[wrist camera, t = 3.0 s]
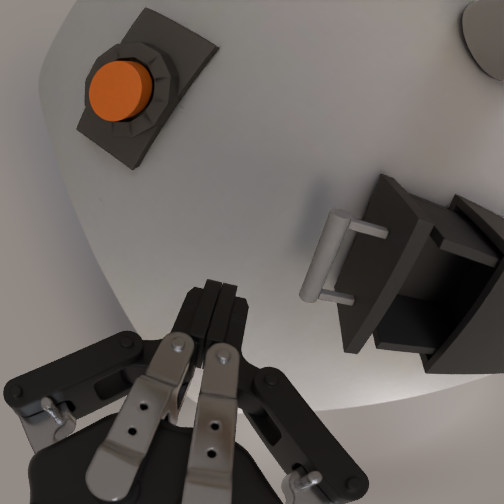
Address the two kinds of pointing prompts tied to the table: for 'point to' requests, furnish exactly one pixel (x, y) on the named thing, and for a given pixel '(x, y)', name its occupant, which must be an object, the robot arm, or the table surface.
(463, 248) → the small dark drawer
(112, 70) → the button
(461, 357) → the black drawer cabinet
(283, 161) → the table surface
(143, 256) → the table surface
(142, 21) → the control block
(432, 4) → the table surface
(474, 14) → the can
